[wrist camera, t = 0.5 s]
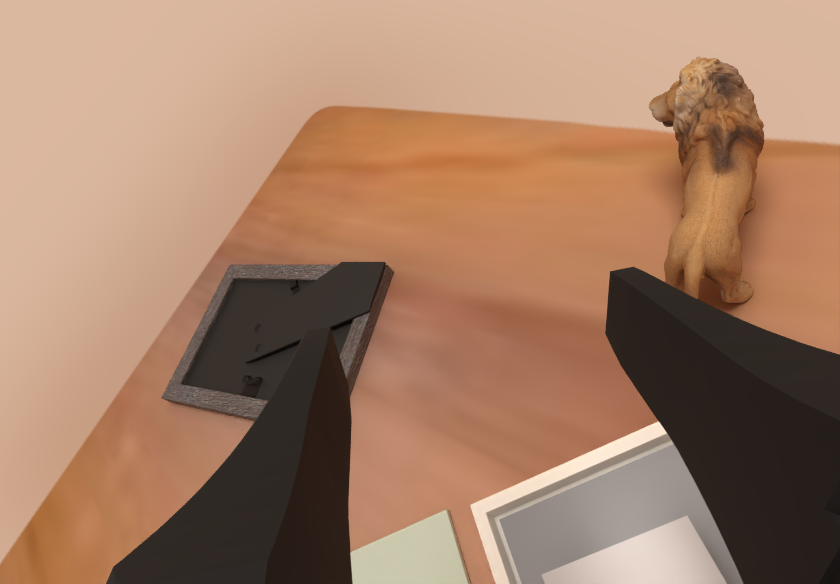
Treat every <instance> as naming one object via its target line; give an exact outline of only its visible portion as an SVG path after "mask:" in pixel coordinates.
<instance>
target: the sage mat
mask: <svg viewBox="0 0 840 584" xmlns="http://www.w3.org/2000/svg"><path fill="white" fill-rule="evenodd" d="M350 554H351V568H352V582H353V584H471V583H470V580H469V577H468V573H467V570H466V566H465V563H464V560H463V556H462V553H461V550H460V546H459V543H458V539H457V536H456V533H455V529H454V526H453V523H452V519H451V516H450V512H449V511H448V510H444V511H442V512H440V513H438V514H435V515H433V516H431V517H429V518H426V519H424V520H422V521H420V522H417V523H415V524H413V525H411V526H408V527H406V528H404V529H402V530H399V531H397V532H395V533H393V534H391V535H388V536H386V537H384V538H382V539H379V540H377V541H375V542H373V543H370V544H368V545H366V546H364V547H361V548H359V549H357V550H355V551H352V552H350Z"/></svg>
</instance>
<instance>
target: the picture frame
mask: <svg viewBox="0 0 840 584" xmlns="http://www.w3.org/2000/svg"><path fill="white" fill-rule="evenodd" d="M393 273H394V272H393V271H392V270H391V269H390V267H389V266H388V265H386V263H385V262H341V263H340V264H338V265H229V267H228V269H227V271H226V273H225V275H224V277H223V279H222V281H221V283H220V285H219V287H218V289H217V290H216V292H215V294H214V296H213V298H212V300H211V302H210V304H209V306H208V308H207V310H206V312H205V314H204V316H203V318H202V320H201V322H200V324H199V326H198V328H197V330H196V331H195V333H194V335H193V337H192V339H191V341H190V343H189V345H188V347H187V349H186V351H185V353H184V355H183V357H182V359H181V361H180V363H179V365H178V367H177V369H176V371H175V373H174V374H173V376H172V378H171V380H170V382H169V384H168V386H167V388H166V390H165V392H164V394H163V396H162V398H163V399H165V400H167V401H169V402H172V403H176V404H181V405H185V406H190V407H194V408H199V409H203V410H208V411H213V412H217V413H222V414H226V415H231V416H235V417H240V418H244V419H249V420H253V421H256V419H257V418H258V416H259V414H260V413H261V411H262V410H263V408H264V407H265V405H266V403H267V402H268V400H269V399H270V397H271V395H272V394H273V392H274V390H275V389H276V387H277V385H278V383H279V381H280V380H281V378H282V376H283V374H284V372H285V371H286V369H287V367H288V365H289V363H290V361H291V359H292V357H293V355H294V353H295V351H296V349H297V347H298V345H299V343H300V341H301V339H302V337H303V335H304V333H305V332H306V331H310V330H315V329H320V328H325V327H330V328H331V331H332V334H333V337H334V340H335V344H336V347H337V350H338V353H339V356H340V359H341V363H342V366H343V369H344V372H345V375H346V378H347V382H348V385H349V396H350V395H351V392H352V390H353V387H354V384H355V381H356V378H357V375H358V373H359V370H360V367H361V364H362V361H363V358H364V355H365V353H366V350H367V347H368V344H369V341H370V338H371V336H372V333H373V330H374V327H375V324H376V321H377V319H378V316H379V313H380V310H381V307H382V304H383V302H384V299H385V296H386V293H387V290H388V287H389V285H390V282H391V279H392V276H393Z"/></svg>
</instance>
